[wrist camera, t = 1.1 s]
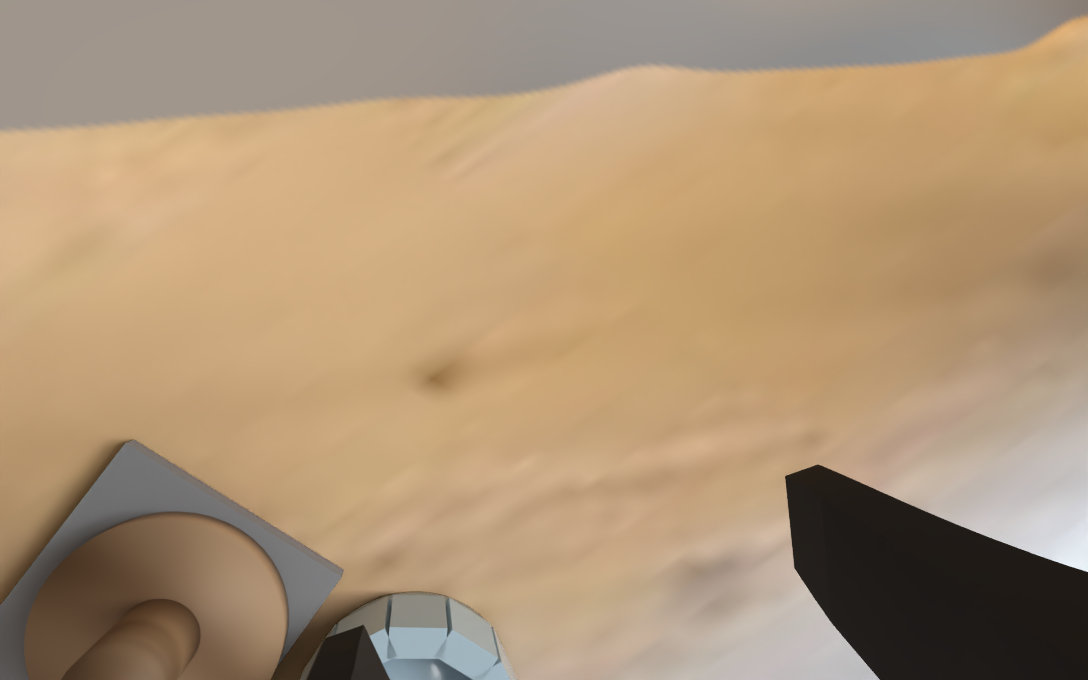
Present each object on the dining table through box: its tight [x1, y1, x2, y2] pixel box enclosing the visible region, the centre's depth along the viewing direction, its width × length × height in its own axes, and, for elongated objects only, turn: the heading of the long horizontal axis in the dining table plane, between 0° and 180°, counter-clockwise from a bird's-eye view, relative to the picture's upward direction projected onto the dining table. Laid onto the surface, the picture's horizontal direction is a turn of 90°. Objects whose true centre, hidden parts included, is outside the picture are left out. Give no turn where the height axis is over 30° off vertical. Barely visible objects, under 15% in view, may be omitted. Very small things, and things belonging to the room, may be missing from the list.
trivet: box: [0, 440, 344, 680], centre depth 26 cm, size 10×10×1 cm
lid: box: [24, 511, 289, 680], centre depth 23 cm, size 9×9×5 cm
